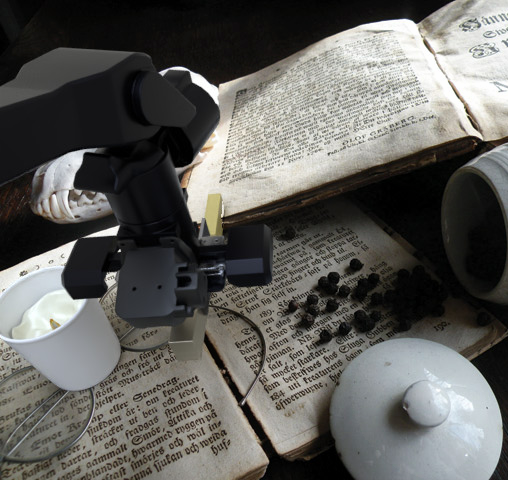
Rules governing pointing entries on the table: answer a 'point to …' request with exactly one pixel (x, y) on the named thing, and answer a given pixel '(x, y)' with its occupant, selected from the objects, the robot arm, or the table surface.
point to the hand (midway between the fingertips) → (193, 313)
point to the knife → (190, 327)
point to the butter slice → (214, 214)
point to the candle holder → (58, 330)
